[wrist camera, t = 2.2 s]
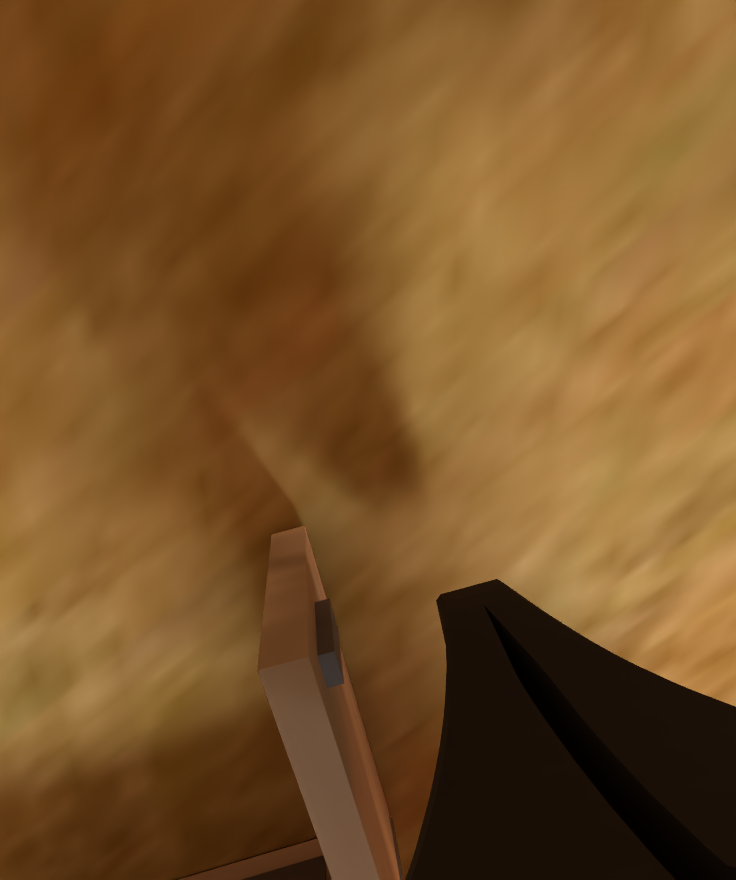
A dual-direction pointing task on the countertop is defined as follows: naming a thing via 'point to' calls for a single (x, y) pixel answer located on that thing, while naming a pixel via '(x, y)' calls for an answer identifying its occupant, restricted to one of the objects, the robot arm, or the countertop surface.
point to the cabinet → (275, 866)
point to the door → (322, 717)
